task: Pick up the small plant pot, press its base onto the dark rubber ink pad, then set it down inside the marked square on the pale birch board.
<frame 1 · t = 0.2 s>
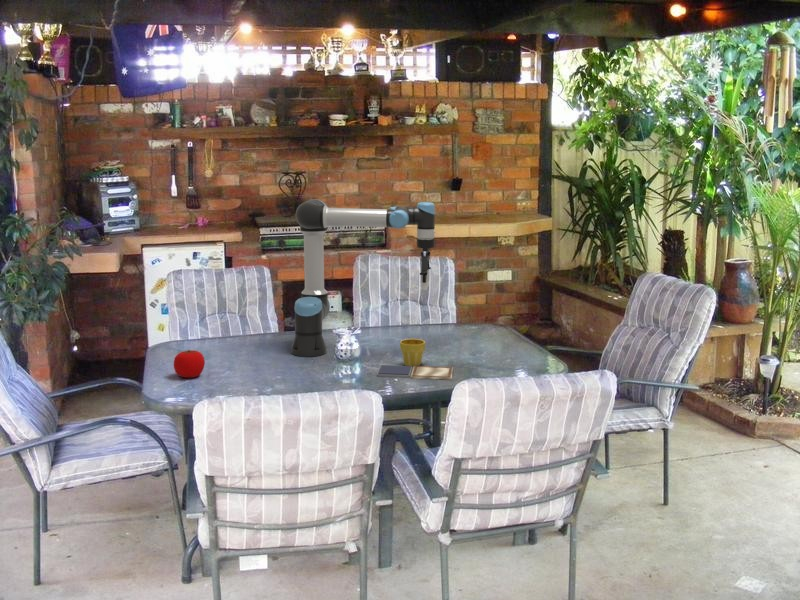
hand: (425, 287, 395), 28 cm above the table, fingers open, 13 cm apart
ink pad: (394, 372, 363), on the table
plant pot: (412, 365, 375), on the table
tomato: (189, 376, 355), on the table
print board: (432, 373, 361), on the table
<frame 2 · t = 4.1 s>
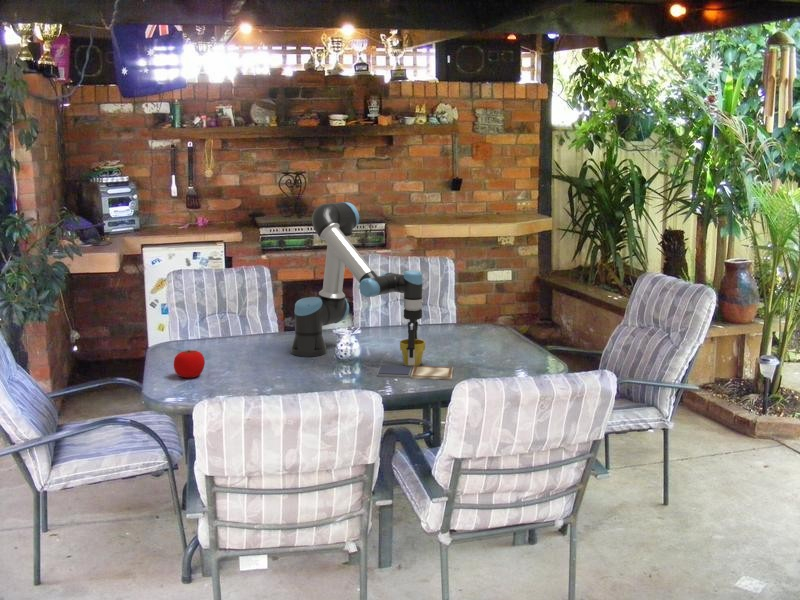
hand: (412, 361, 375), 1 cm above the table, fingers closed on plant pot, 10 cm apart
plant pot: (412, 365, 375), on the table, touching gripper
everything else where it was.
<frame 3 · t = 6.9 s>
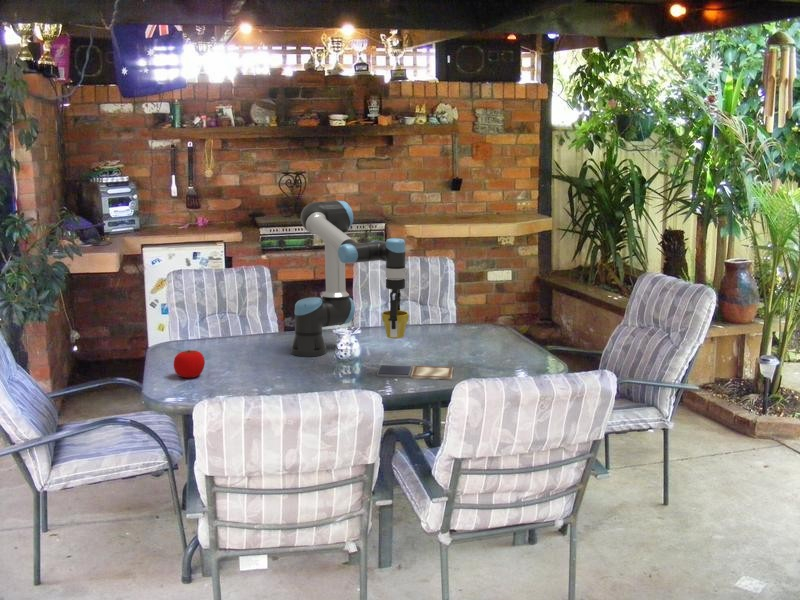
hand: (395, 333, 360), 16 cm above the table, fingers closed on plant pot, 10 cm apart
plant pot: (395, 337, 360), point 14 cm above the table, touching gripper
everything else where it was.
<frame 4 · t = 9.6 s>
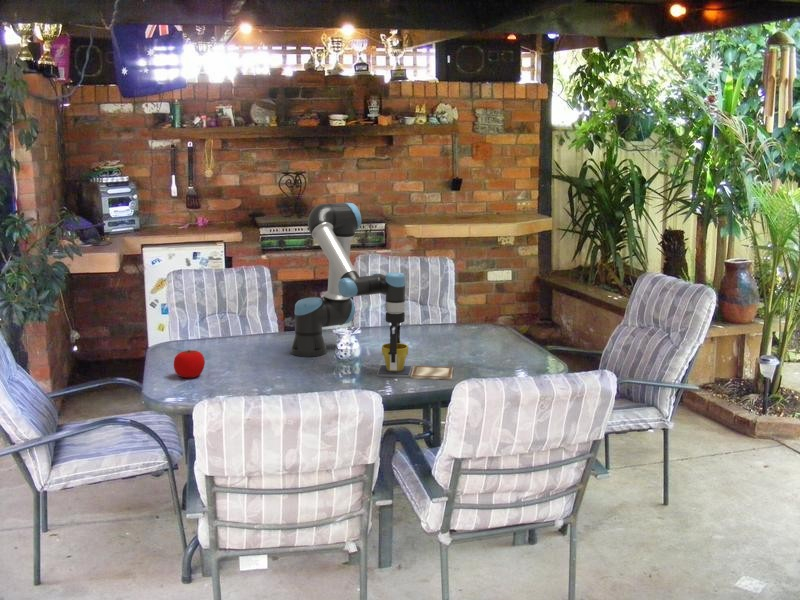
hand: (394, 366, 362), 3 cm above the table, fingers closed on plant pot, 10 cm apart
plant pot: (394, 370, 363), point 1 cm above the table, touching gripper, ink pad
everything else where it was.
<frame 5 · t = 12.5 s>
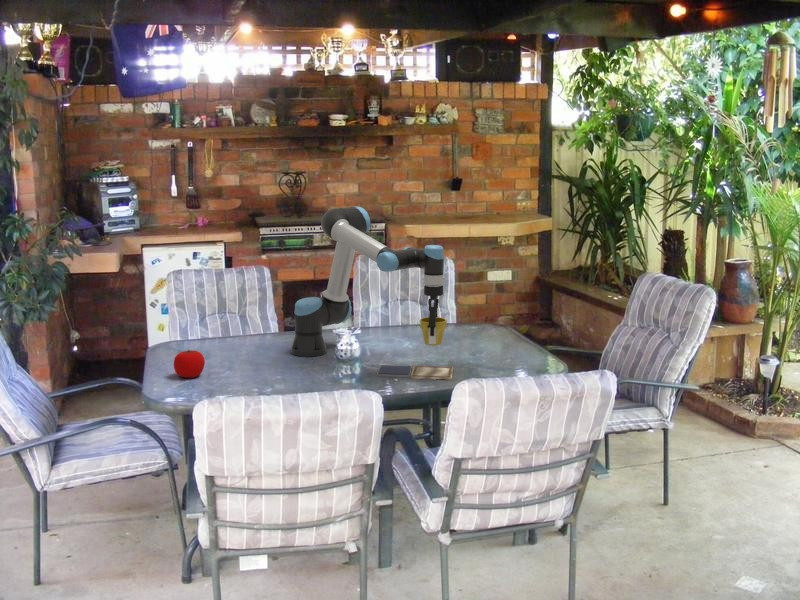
hand: (432, 340, 359), 14 cm above the table, fingers closed on plant pot, 10 cm apart
plant pot: (433, 344, 359), point 12 cm above the table, touching gripper
everything else where it was.
when the fingers open (4 cm above the table, at t = 15.1 s): plant pot drops 2 cm, resting on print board.
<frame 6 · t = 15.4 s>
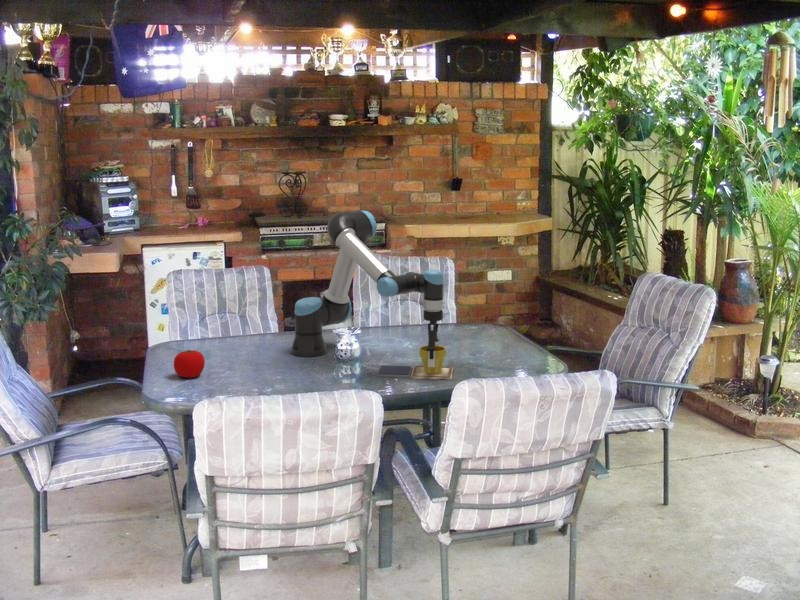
hand: (432, 362, 361), 5 cm above the table, fingers open, 13 cm apart
plant pot: (432, 372, 361), point 1 cm above the table, touching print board
everything else where it was.
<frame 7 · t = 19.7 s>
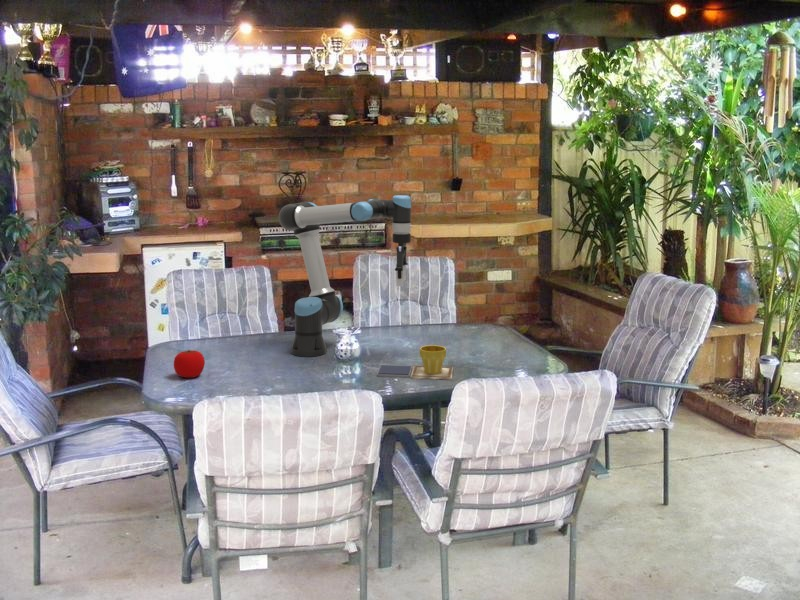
hand: (401, 283, 381), 32 cm above the table, fingers open, 13 cm apart
nothing on the table moved.
at the end: plant pot inside the target area on the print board (0.4 cm from its centre), point 0.6 cm above the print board's base; plant pot tilted 0°; the gripper is holding nothing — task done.
